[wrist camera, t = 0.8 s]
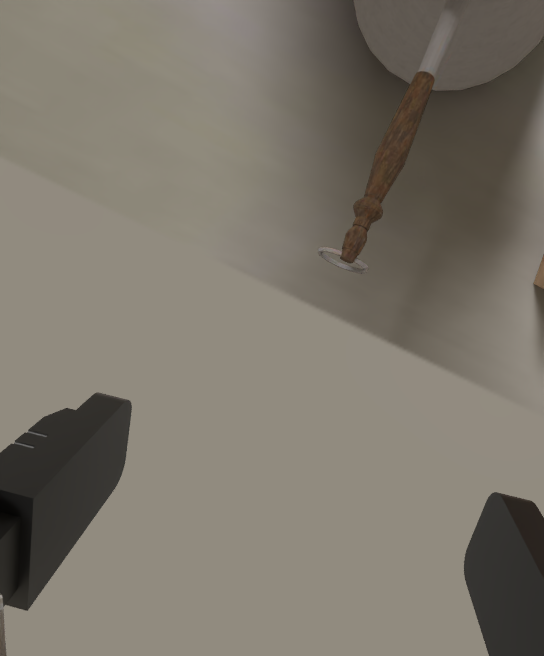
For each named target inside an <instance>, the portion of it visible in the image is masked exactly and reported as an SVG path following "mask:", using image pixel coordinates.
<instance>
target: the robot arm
mask: <svg viewBox="0 0 544 656" xmlns="http://www.w3.org/2000/svg"><path fill="white" fill-rule="evenodd" d="M131 408H132V406H131V402H130V401H129V400H126V399H122V398H118V397H114V396H110V395H106V394H102V393H95V394H94V395H92V396H91V397H90V398H89V399H88V400H87V401H86V402H85V403H83V404H82V405H81V406H80V407H79V408H78V409H77V410H73V409H68V408H66V409H63V410H60V411H58V412H55V413H53V414H50V415H48V416H45V417H43V418H42V419H41V420H40V421H39V422H37V423H36V424H35V425H34V426H32V427H31V428H30V429H29V430H28V432H27V433H24V434H23V435H21V436H20V437H19V438H18V439H17V440H15V443H14V444H10V445H9V446H8V447H7V448H6V449H4V450H3V451H2V452H1V453H0V656H6V643H5V629H4V613H3V607H4V606H5V605H9V606H12V607H16V608H19V609H23V610H28V609H29V608H30V606H31V605H32V604H33V602H34V601H35V599H36V598H37V597H38V595H39V594H40V592H41V591H42V589H43V588H44V587H45V585H46V584H47V583H48V581H49V580H50V578H51V577H52V576H53V574H54V573H55V571H56V570H57V569H58V567H59V566H60V564H61V563H62V562H63V560H64V559H65V557H66V556H67V555H68V553H69V552H70V550H71V549H72V548H73V546H74V545H75V544H76V542H77V541H78V539H79V538H80V536H81V535H82V534H83V532H84V531H85V530H86V528H87V527H88V525H89V524H90V522H91V521H92V520H93V518H94V517H95V516H96V514H97V513H98V511H99V510H100V508H101V507H102V506H103V504H104V503H105V502H106V500H107V499H108V497H109V496H110V495H111V493H112V491H113V490H114V489H115V487H116V486H117V484H118V482H119V480H120V477H121V475H122V471H123V468H124V464H125V459H126V451H127V443H128V435H129V427H130V418H131V410H132V409H131ZM464 575H465V580H466V584H467V587H468V590H469V593H470V597H471V600H472V603H473V606H474V609H475V612H476V615H477V619H478V622H479V625H480V628H481V632H482V634H483V638H484V641H485V644H486V647H487V650H488V654H489V656H544V518H543V516H542V514H541V513H540V511H539V509H538V508H537V506H536V505H535V503H533V502H532V501H529V500H525V499H521V498H517V497H513V496H509V495H505V494H501V493H497V492H495V493H492V494H491V495H490V496H489V498H488V500H487V502H486V504H485V506H484V509H483V511H482V514H481V516H480V518H479V521H478V523H477V526H476V528H475V531H474V533H473V535H472V538H471V540H470V543H469V545H468V548H467V550H466V554H465V561H464Z"/></svg>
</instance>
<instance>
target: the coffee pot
mask: <svg viewBox="0 0 544 656" xmlns="http://www.w3.org/2000/svg"><path fill="white" fill-rule="evenodd" d="M353 1H354V6H355V11H356V16H357V21H358V26H359V28H360V30H361V32H362V34H363V36H364V38H365V40H366V42H367V44H368V47H369V49H370V50H371V52H372V53H373V54H374V55H375V56H376V57H377V58H378V60H379V61H380V62H381V63H382V64H383V65H384V66H385V68H386V69H387V70H388V71H390V72H391V73H393V74H395V75H396V76H398V77H399V78H401V79H403V80H404V81H406V82H407V83H409V84H410V86H409V88H408V90H407V92H406V94H405V96H404V98H403V100H402V102H401V104H400V106H399V108H398V110H397V112H396V114H395V116H394V118H393V120H392V122H391V124H390V126H389V128H388V130H387V132H386V134H385V136H384V138H383V140H382V142H381V144H380V146H379V148H378V150H377V152H376V154H375V158H374V162H373V166H372V170H371V173H370V177H369V181H368V184H367V188H366V191H365V195H364V198H362V199H360V200H358V201H357V202H356V203H355V204H354V212H355V216H356V218H355V221H354V223H353V227H352V228H351V229H349V230H348V232H347V233H346V236H345V239H344V243H343V246H342V249H343V250H342V251H339V250H336V249H333V248H329V247H320V248H319V249H318V253H319V255H320V256H321V257H322V258H324V259H325V260H327V261H328V262H330V263H332V264H334V265H336V266H338V267H341V268H343V269H346V270H349V271H352V272H356V273H361V274H362V273H367V271H368V265H366V264H365V263H363V262H362V261H361V260H359V259H357V258H356V257H357V255H359V253H360V252H361V250H362V248H363V247H364V245H365V243H366V241H367V232H368V230H369V228H370V225H371V223H373V222H375V221H377V220H378V219H380V218H381V217H382V214H383V210H382V207H381V204H380V203H381V202H382V201H383V199H384V197H385V196H386V194H387V192H388V191H389V189H390V187H391V186H392V184H393V182H394V181H395V179H396V177H397V176H398V174H399V173H400V171H401V170H402V168H403V167H404V164H405V161H406V158H407V156H408V153H409V150H410V147H411V145H412V142H413V139H414V136H415V134H416V131H417V128H418V125H419V123H420V120H421V117H422V115H423V112H424V109H425V106H426V104H427V101H428V98H429V95H430V93H431V90H434V91H440V90H464V89H467V88H470V87H474V86H477V85H480V84H484V83H487V82H490V81H492V80H493V79H495V78H497V77H498V76H500V75H502V74H503V73H505V72H507V71H508V70H510V69H512V68H514V67H515V66H516V65H517V64H518V63H519V62H520V61H521V60H522V59H523V58H525V57H526V56H527V55H528V54H529V53H530V52H531V51H532V50H533V49H534V48H535V47H536V46H537V45H538V44H539V42H540V41H541V39H542V38H543V36H544V0H353ZM322 251H326V252H330V253H334V254H337V255H339V256H341V257H340V259H341V260H343V261H345V262H347V263H353V262H355V263H357V264H358V265H360V266H361V267H362V268H364V269H358V268H354V267H350V266H348V265H345V264H342V263H340V262H338V261H336V260H334V259H332V258H330V257H329V256H327V255H326V254H324V253H323V252H322Z"/></svg>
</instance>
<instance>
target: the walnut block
mask: <svg viewBox="0 0 544 656" xmlns="http://www.w3.org/2000/svg"><path fill="white" fill-rule="evenodd" d="M534 284H535V285H537V286H539V287H541V288H543V289H544V255H543V258H542V261H541V264H540V267H539V270H538V273H537V275H536V278H535V281H534Z"/></svg>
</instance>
